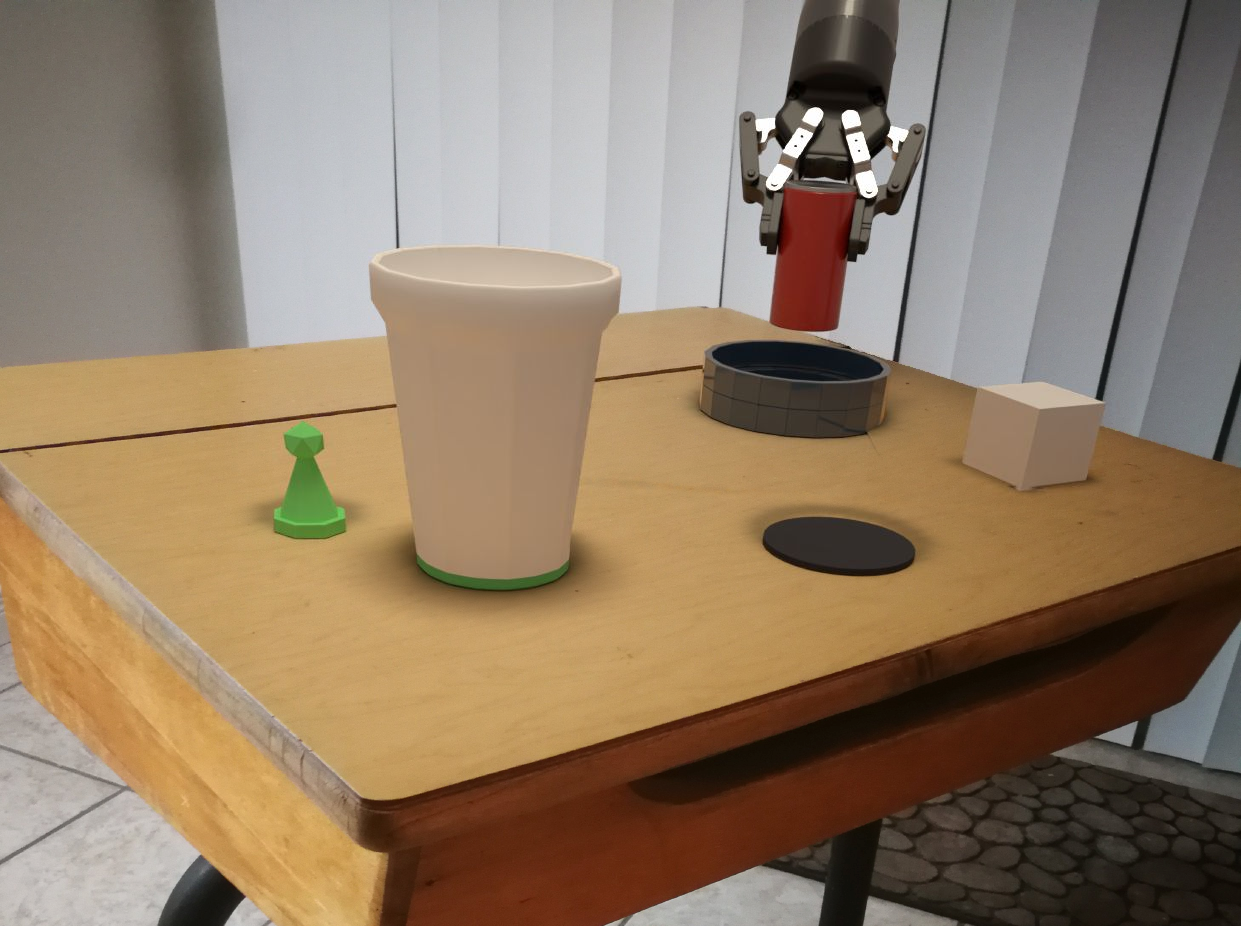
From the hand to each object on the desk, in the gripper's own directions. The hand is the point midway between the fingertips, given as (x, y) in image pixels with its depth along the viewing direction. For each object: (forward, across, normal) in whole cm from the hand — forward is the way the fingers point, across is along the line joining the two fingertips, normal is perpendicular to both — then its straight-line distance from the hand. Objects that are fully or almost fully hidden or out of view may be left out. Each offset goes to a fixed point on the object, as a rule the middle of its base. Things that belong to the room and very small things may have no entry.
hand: (812, 250), depth 94 cm
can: (+3, 0, +5) cm, 6 cm away
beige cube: (+15, +17, +3) cm, 23 cm away
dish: (+8, 0, +10) cm, 13 cm away
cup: (+34, -14, -17) cm, 41 cm away
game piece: (+33, -25, -15) cm, 44 cm away
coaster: (+28, +5, -10) cm, 30 cm away
